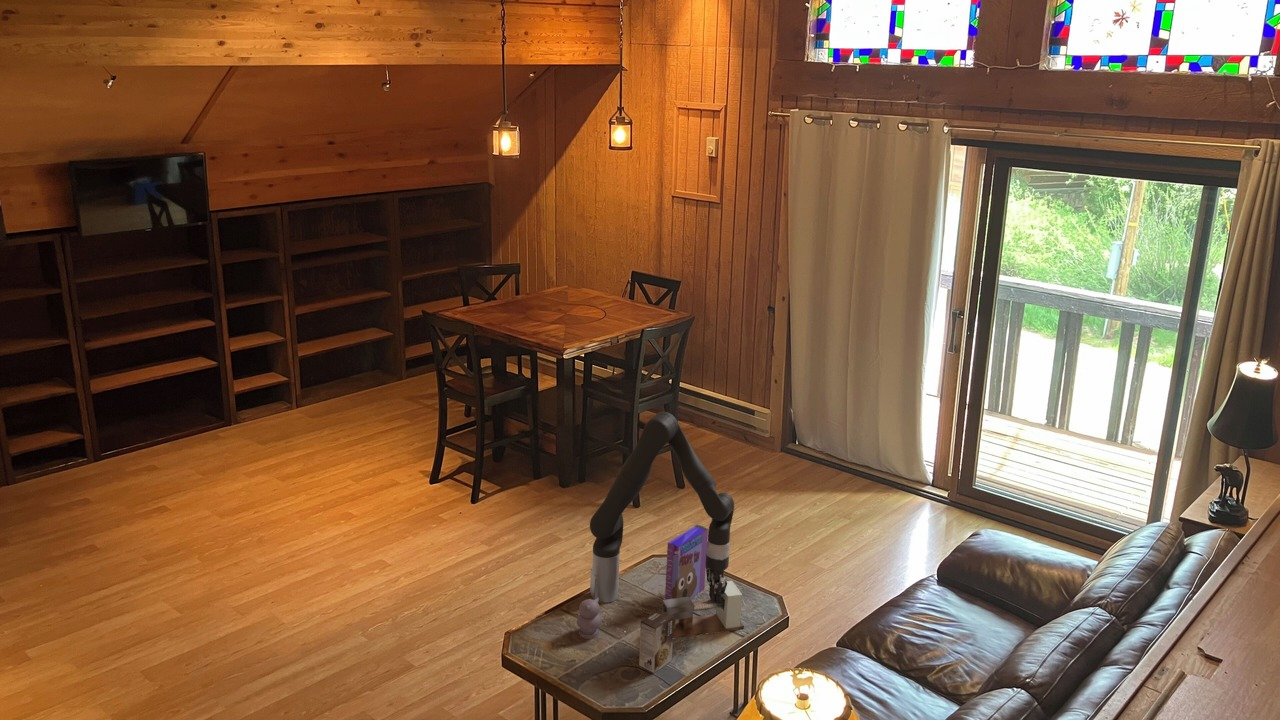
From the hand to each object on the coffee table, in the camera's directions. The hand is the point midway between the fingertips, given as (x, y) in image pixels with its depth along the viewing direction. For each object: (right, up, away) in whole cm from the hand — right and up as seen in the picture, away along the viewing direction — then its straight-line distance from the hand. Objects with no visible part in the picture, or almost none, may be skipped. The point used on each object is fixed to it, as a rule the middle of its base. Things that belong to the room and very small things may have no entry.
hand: (714, 599), depth 330 cm
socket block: (+5, -9, +4) cm, 11 cm away
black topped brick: (-3, -3, 0) cm, 4 cm away
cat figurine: (-41, -10, -4) cm, 43 cm away
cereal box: (-9, -4, +19) cm, 22 cm away
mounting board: (-4, -9, +2) cm, 11 cm away
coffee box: (-20, -16, -19) cm, 32 cm away
